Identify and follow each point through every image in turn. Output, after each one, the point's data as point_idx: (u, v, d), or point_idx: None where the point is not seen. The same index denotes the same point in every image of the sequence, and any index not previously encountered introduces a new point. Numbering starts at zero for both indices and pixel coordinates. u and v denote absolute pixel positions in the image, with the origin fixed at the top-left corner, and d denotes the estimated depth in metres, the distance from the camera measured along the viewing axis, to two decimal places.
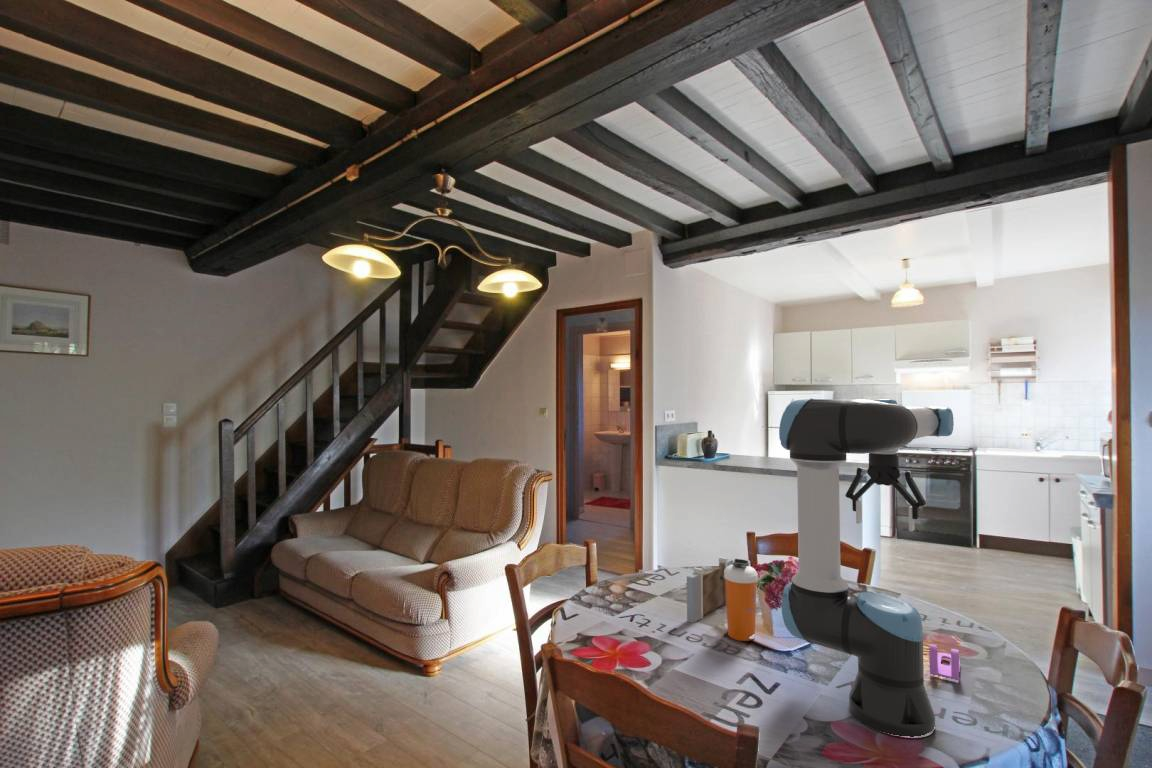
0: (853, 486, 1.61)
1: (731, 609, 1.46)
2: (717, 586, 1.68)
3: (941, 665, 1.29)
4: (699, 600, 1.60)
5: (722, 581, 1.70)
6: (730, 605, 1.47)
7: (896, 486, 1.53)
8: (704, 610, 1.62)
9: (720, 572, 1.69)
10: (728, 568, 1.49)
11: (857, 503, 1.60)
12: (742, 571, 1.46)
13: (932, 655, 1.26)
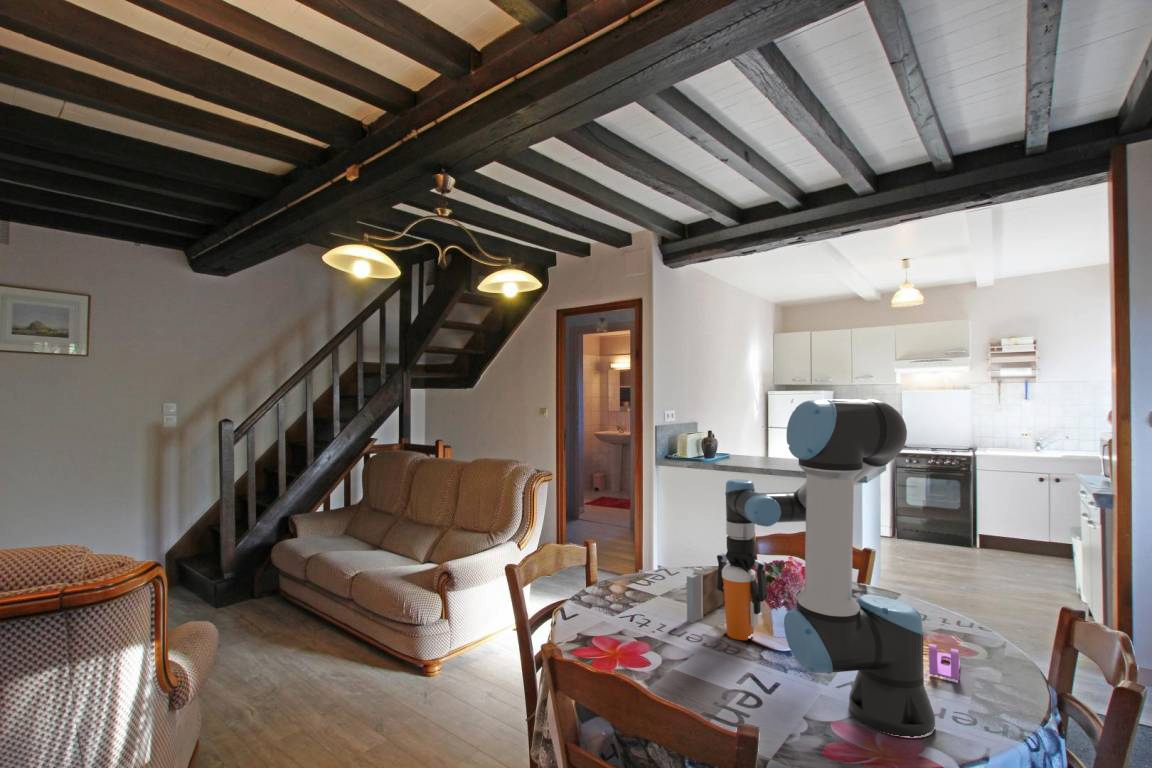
0: (720, 576, 1.52)
1: (730, 608, 1.47)
2: None
3: (941, 665, 1.29)
4: (699, 600, 1.60)
5: None
6: (729, 605, 1.47)
7: None
8: (704, 610, 1.62)
9: None
10: (726, 567, 1.49)
11: None
12: (740, 570, 1.46)
13: (931, 655, 1.26)
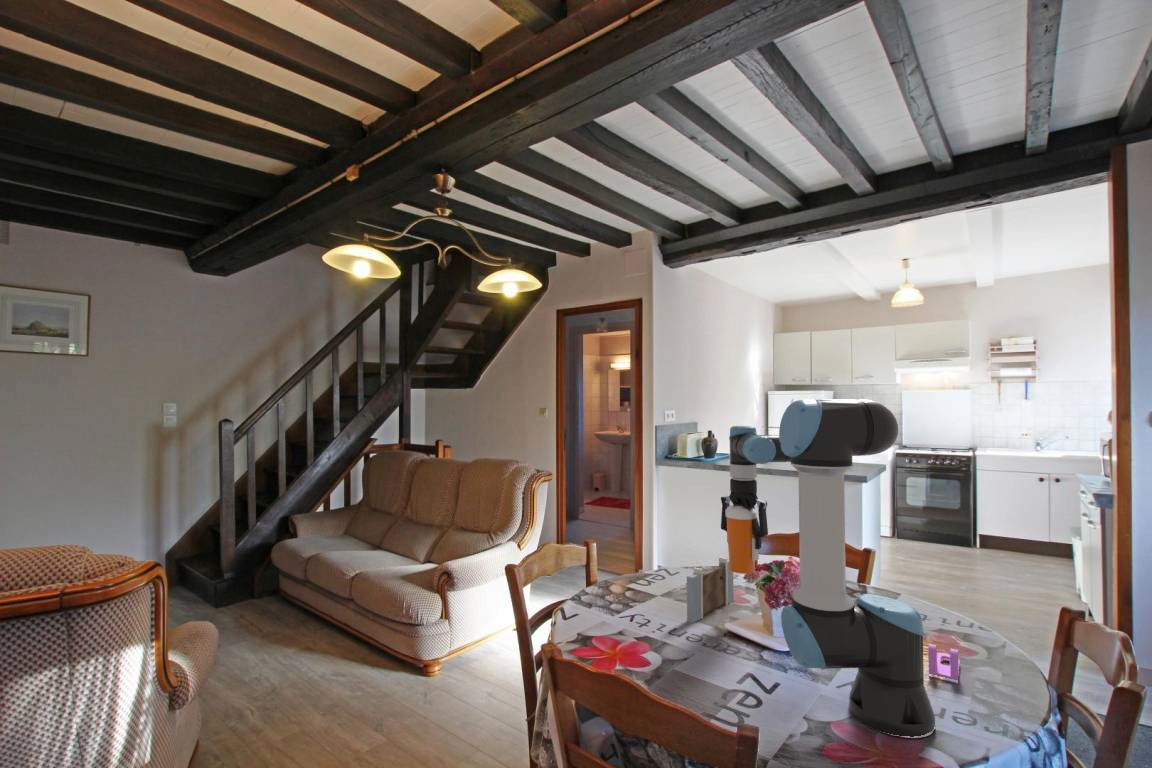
0: (724, 516, 1.62)
1: (733, 544, 1.57)
2: (717, 586, 1.68)
3: (940, 665, 1.29)
4: (699, 600, 1.60)
5: (722, 581, 1.70)
6: (732, 541, 1.58)
7: None
8: (704, 610, 1.62)
9: (720, 572, 1.69)
10: (729, 507, 1.60)
11: None
12: (742, 509, 1.57)
13: (931, 655, 1.26)
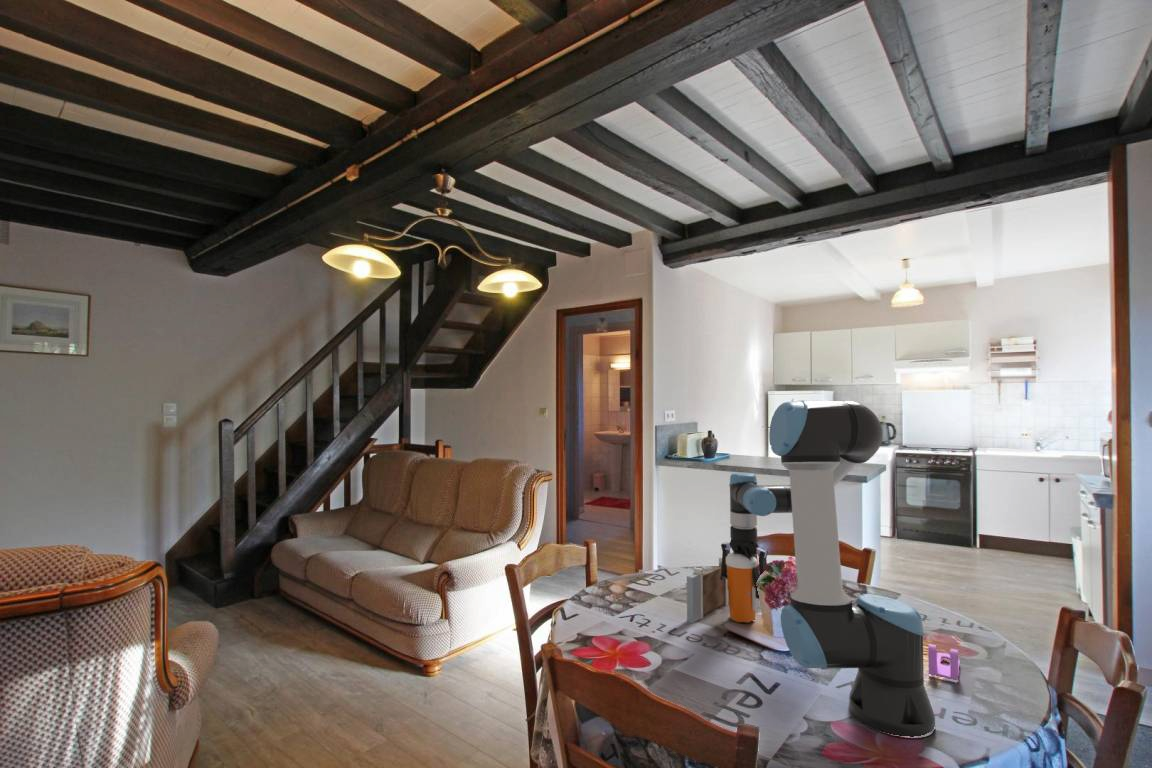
0: (724, 563, 1.62)
1: (733, 593, 1.57)
2: (717, 586, 1.68)
3: (940, 665, 1.29)
4: (699, 600, 1.60)
5: (722, 581, 1.70)
6: (732, 590, 1.57)
7: None
8: (704, 610, 1.62)
9: (720, 572, 1.69)
10: (729, 555, 1.59)
11: None
12: (742, 557, 1.56)
13: (931, 655, 1.26)
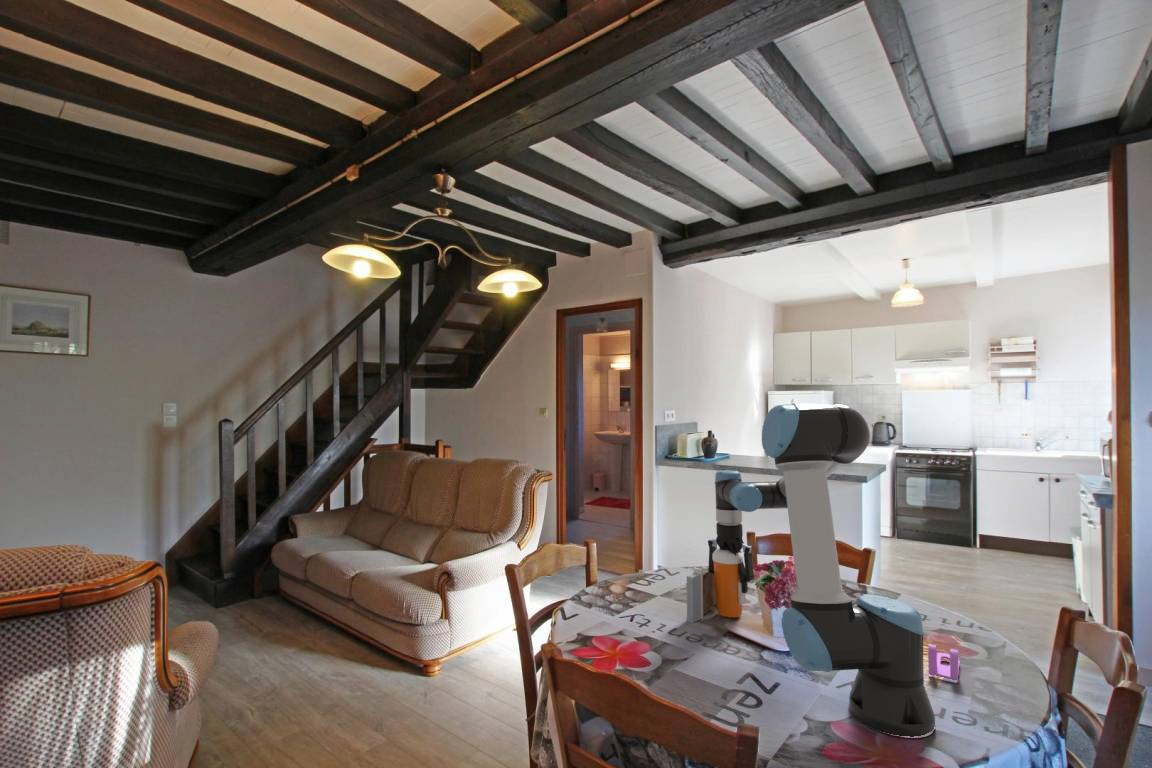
0: (711, 560, 1.65)
1: (720, 588, 1.60)
2: (713, 585, 1.69)
3: (940, 665, 1.29)
4: (699, 600, 1.60)
5: None
6: (719, 585, 1.60)
7: None
8: (703, 610, 1.62)
9: None
10: (716, 551, 1.63)
11: None
12: (728, 553, 1.60)
13: (931, 656, 1.26)
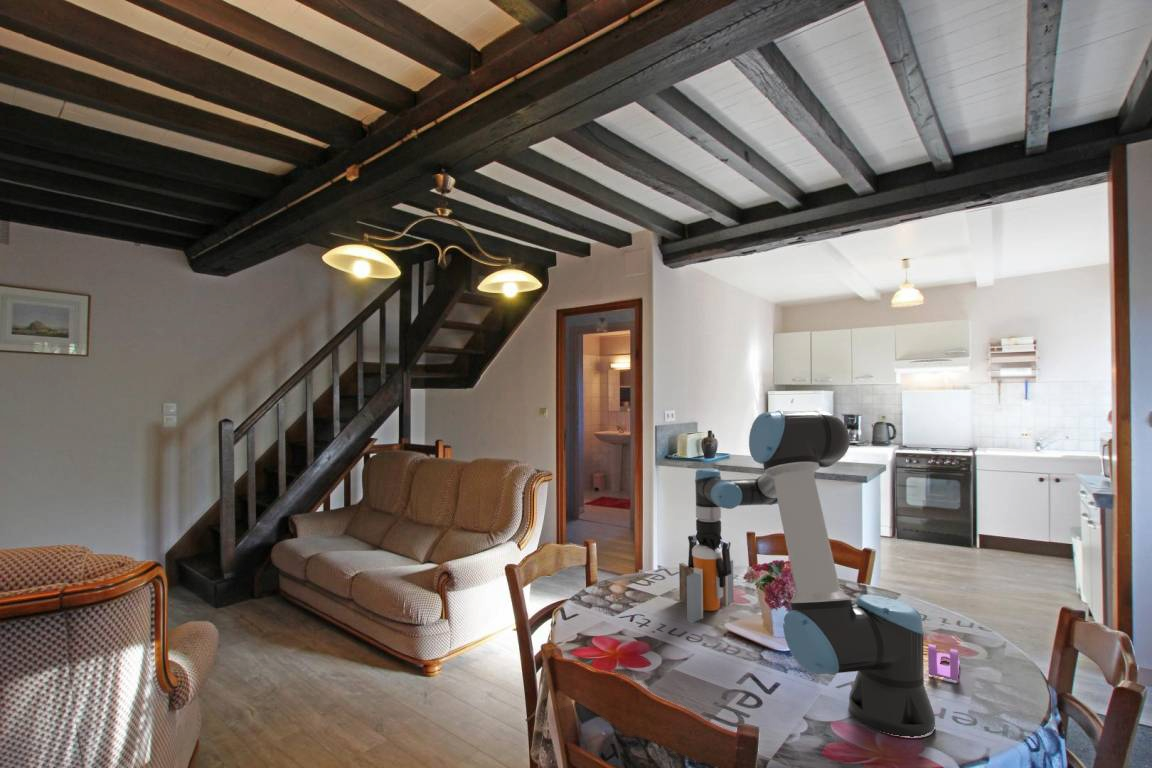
0: (691, 555, 1.70)
1: None
2: None
3: (940, 665, 1.29)
4: (699, 600, 1.60)
5: None
6: None
7: None
8: None
9: None
10: (695, 547, 1.68)
11: None
12: (707, 549, 1.65)
13: (931, 656, 1.26)
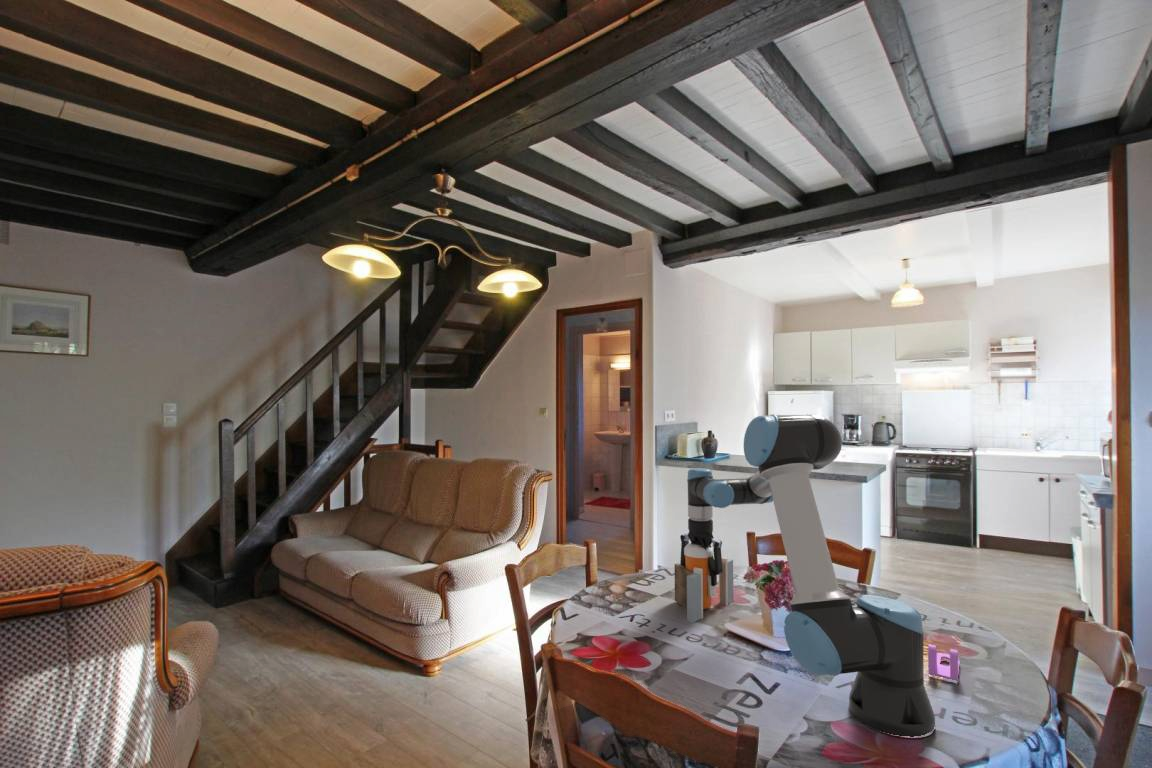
0: (683, 554, 1.72)
1: None
2: None
3: (940, 665, 1.29)
4: (699, 600, 1.60)
5: None
6: None
7: None
8: None
9: None
10: (687, 545, 1.70)
11: None
12: (699, 547, 1.67)
13: (931, 656, 1.26)
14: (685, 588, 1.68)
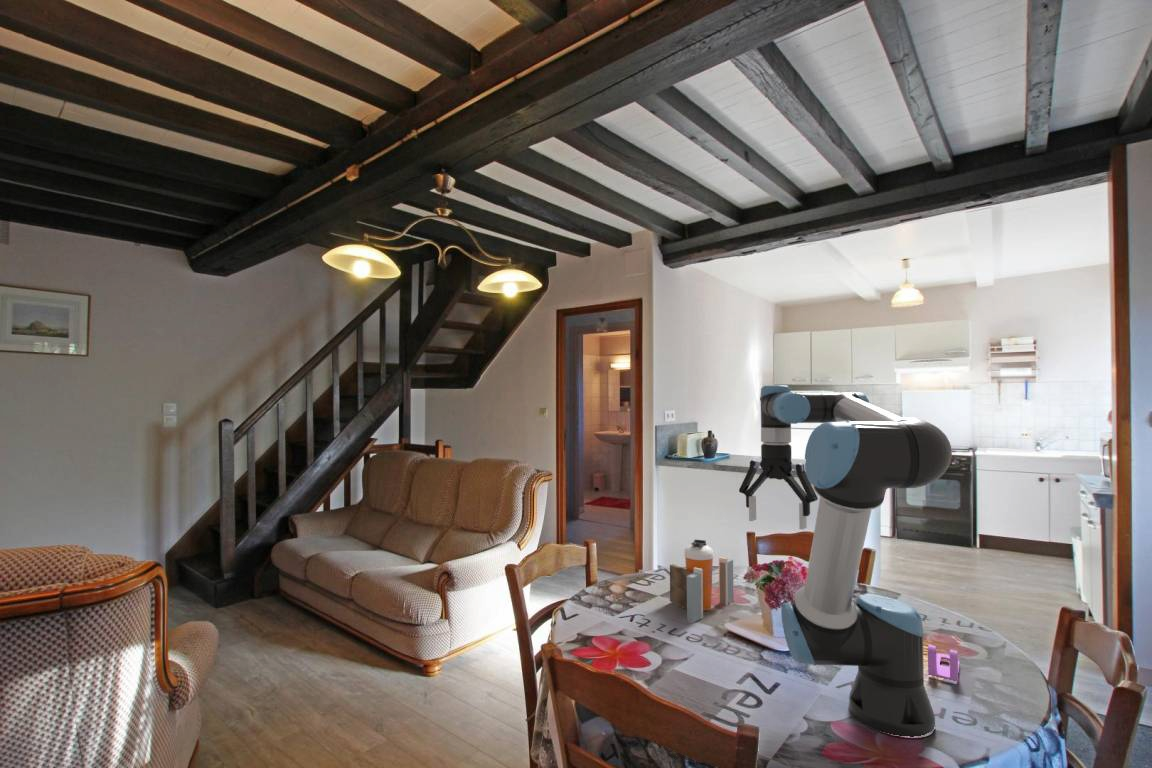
0: (746, 480, 1.48)
1: None
2: None
3: (940, 666, 1.29)
4: (699, 600, 1.60)
5: None
6: None
7: (787, 480, 1.40)
8: None
9: None
10: (688, 547, 1.69)
11: (750, 499, 1.47)
12: (699, 549, 1.66)
13: (930, 656, 1.26)
14: (683, 589, 1.67)
